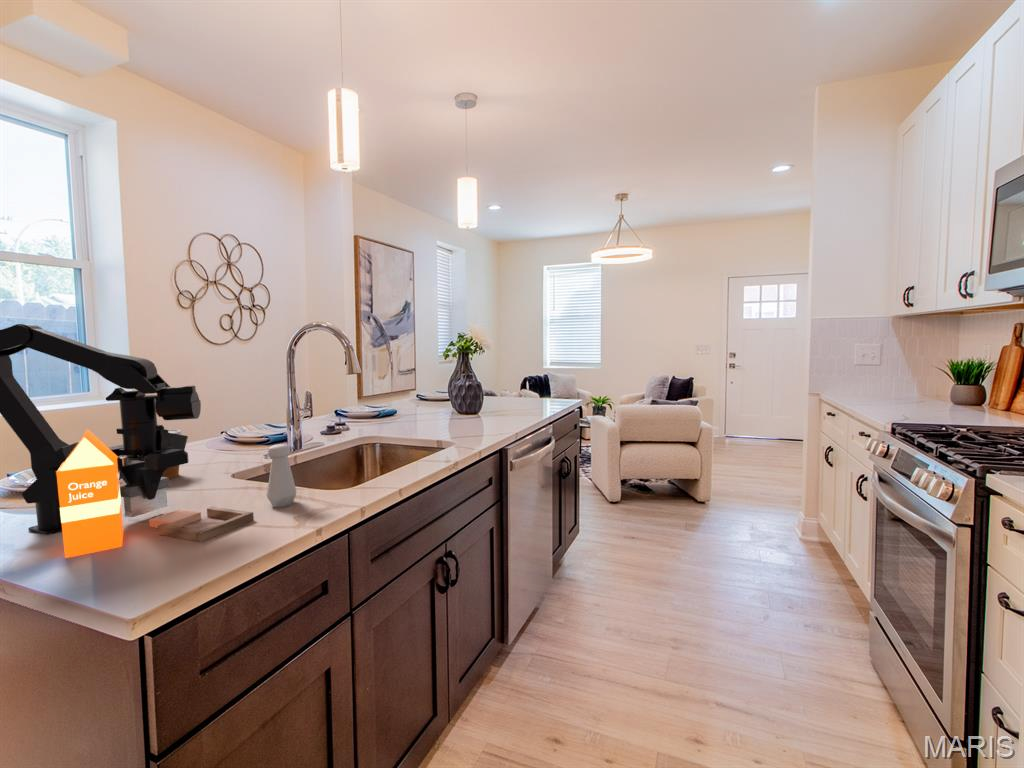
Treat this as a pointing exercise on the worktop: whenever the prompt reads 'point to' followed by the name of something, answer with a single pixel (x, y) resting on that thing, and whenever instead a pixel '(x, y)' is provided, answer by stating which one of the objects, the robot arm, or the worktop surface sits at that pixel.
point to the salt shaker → (280, 477)
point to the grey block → (143, 498)
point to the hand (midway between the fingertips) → (145, 498)
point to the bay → (234, 521)
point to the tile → (176, 518)
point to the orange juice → (90, 498)
